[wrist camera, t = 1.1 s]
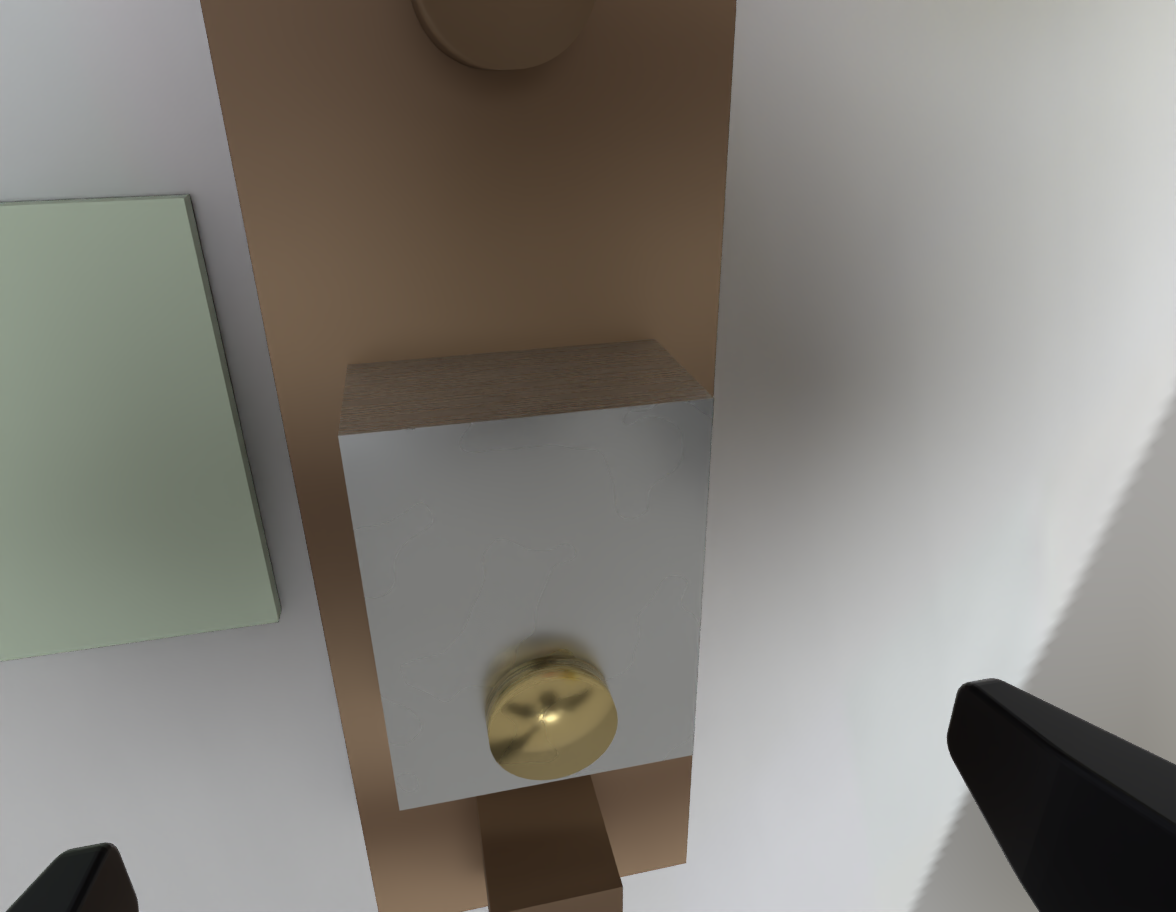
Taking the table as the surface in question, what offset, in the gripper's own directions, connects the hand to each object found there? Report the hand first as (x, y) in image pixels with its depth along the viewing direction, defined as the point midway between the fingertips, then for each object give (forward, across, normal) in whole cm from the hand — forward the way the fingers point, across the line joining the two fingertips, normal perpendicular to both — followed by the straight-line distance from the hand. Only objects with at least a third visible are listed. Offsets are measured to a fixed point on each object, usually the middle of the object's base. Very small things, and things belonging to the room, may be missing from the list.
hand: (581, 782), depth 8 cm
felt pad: (+8, +8, -1) cm, 12 cm away
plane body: (+8, 0, 0) cm, 8 cm away
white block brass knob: (+5, 0, 0) cm, 5 cm away
